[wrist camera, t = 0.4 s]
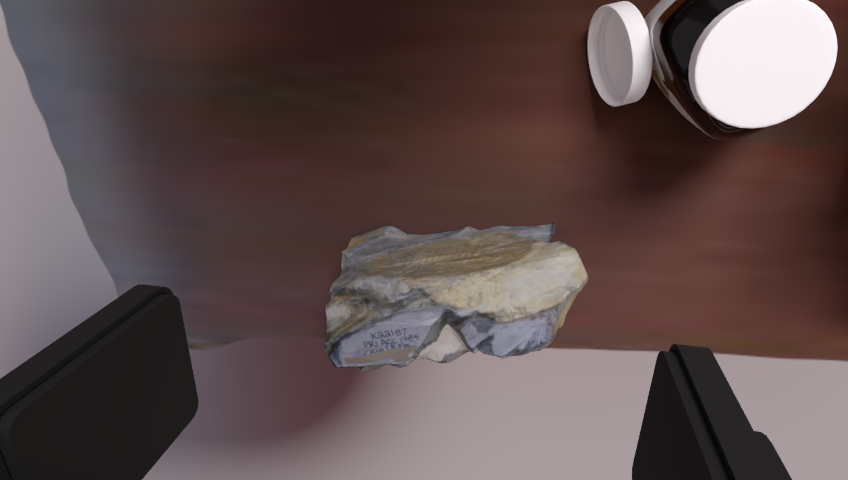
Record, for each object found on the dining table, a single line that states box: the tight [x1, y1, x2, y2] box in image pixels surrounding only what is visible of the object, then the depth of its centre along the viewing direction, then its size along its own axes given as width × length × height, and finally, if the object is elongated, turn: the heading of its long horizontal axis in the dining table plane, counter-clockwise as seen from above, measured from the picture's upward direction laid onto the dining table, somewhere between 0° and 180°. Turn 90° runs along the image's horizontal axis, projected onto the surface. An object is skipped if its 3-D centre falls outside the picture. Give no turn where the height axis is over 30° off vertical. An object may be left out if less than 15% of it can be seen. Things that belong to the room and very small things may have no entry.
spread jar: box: [587, 0, 837, 140], centre depth 34 cm, size 12×11×12 cm
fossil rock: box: [324, 223, 588, 371], centre depth 45 cm, size 20×10×15 cm, turn 98°
